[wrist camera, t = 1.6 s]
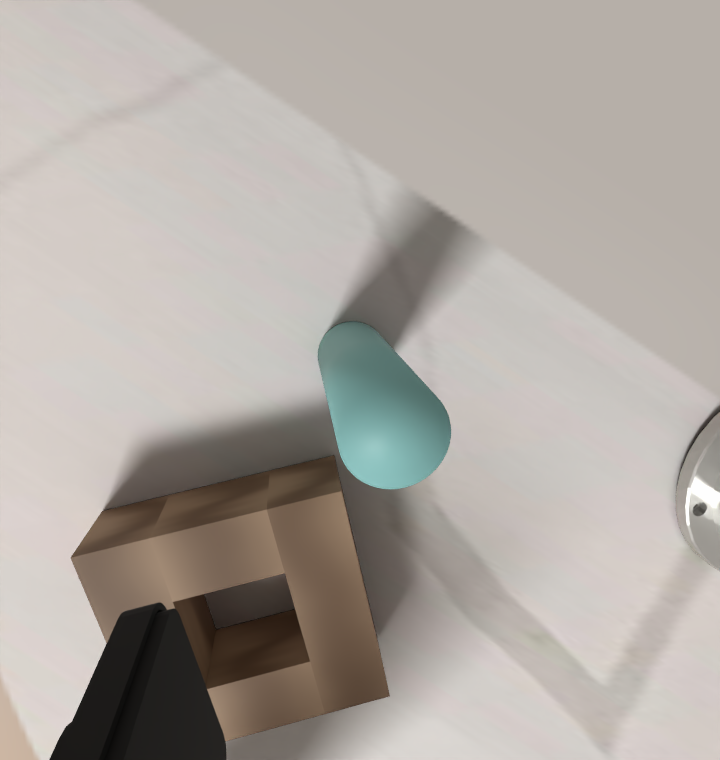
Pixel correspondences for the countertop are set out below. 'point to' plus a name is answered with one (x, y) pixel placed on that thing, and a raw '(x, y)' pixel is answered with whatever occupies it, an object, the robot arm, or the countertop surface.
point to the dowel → (380, 409)
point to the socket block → (243, 565)
